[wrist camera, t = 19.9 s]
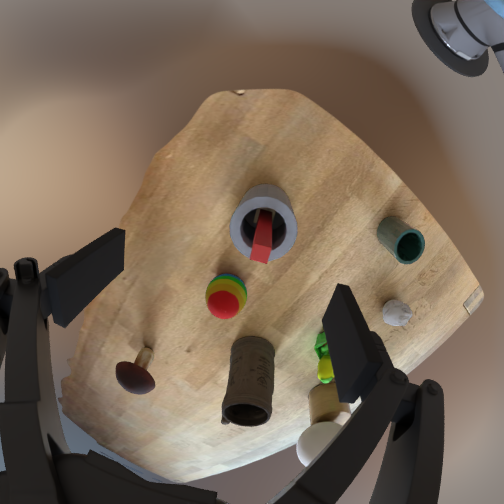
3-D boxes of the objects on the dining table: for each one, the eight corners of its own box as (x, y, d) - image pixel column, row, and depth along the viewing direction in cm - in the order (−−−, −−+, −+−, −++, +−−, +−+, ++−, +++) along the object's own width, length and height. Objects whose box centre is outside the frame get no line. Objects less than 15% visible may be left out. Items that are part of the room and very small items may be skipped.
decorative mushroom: (130, 330, 65) (105, 367, 51) (167, 341, 65) (147, 382, 51) (133, 358, 69) (112, 395, 55) (168, 369, 69) (151, 408, 55)
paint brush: (259, 199, 50) (249, 236, 29) (276, 203, 50) (278, 244, 29) (255, 215, 51) (242, 262, 30) (271, 219, 51) (270, 270, 30)
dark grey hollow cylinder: (244, 327, 61) (230, 397, 43) (284, 344, 62) (282, 414, 44) (219, 363, 67) (202, 425, 49) (255, 377, 69) (246, 439, 51)
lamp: (297, 412, 73) (299, 481, 49) (291, 385, 68) (293, 463, 44) (345, 403, 70) (358, 471, 47) (345, 375, 65) (362, 451, 42)
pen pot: (383, 211, 49) (402, 224, 41) (408, 221, 49) (429, 235, 41) (372, 241, 51) (388, 259, 43) (397, 250, 52) (416, 268, 43)
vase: (247, 178, 49) (238, 188, 36) (296, 191, 49) (305, 207, 36) (235, 225, 52) (223, 251, 39) (282, 237, 53) (286, 268, 40)
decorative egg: (249, 302, 58) (244, 330, 49) (212, 301, 59) (202, 329, 50) (247, 268, 56) (242, 293, 46) (208, 268, 56) (196, 292, 47)
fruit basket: (352, 351, 62) (362, 383, 52) (320, 364, 64) (325, 396, 54) (341, 320, 59) (352, 352, 48) (305, 333, 61) (310, 367, 50)
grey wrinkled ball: (401, 312, 57) (412, 329, 51) (376, 317, 58) (385, 335, 52) (404, 291, 55) (417, 307, 49) (378, 295, 56) (388, 312, 49)
